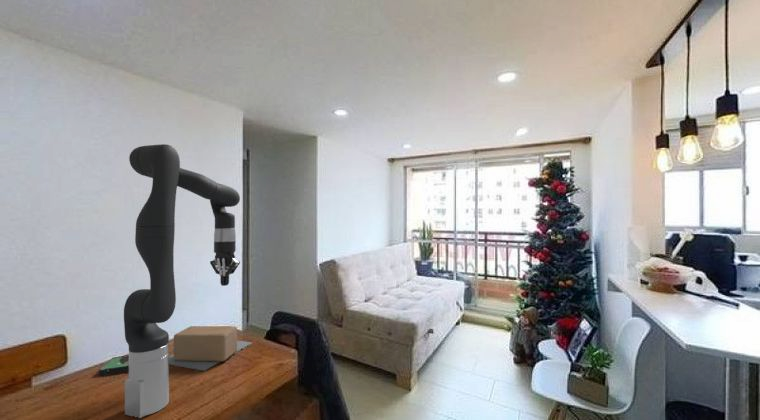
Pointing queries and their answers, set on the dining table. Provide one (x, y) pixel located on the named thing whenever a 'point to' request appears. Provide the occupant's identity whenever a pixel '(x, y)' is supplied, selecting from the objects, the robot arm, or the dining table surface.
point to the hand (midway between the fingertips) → (224, 285)
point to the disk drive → (115, 366)
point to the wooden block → (205, 343)
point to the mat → (204, 364)
